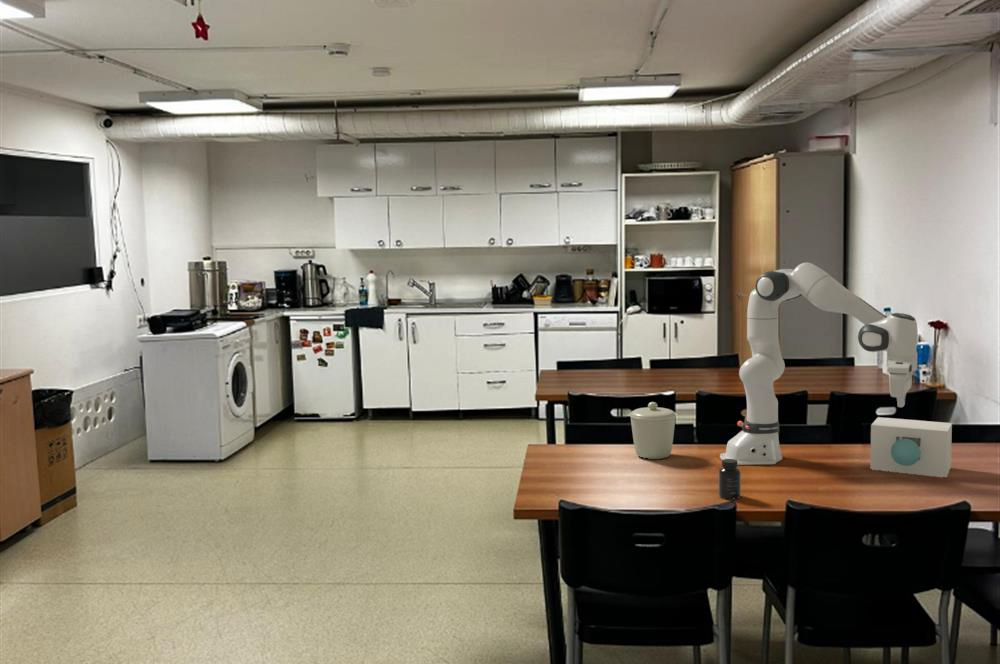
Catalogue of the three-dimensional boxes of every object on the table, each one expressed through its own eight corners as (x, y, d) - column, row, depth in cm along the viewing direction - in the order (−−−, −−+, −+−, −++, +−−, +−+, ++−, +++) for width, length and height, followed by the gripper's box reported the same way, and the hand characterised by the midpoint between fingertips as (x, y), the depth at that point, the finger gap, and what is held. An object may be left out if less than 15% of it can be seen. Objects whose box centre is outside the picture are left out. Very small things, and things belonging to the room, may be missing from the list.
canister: (674, 463, 325) (673, 407, 322) (625, 461, 331) (624, 406, 328) (680, 451, 342) (679, 398, 339) (634, 449, 348) (633, 396, 345)
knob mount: (946, 477, 296) (947, 431, 294) (870, 469, 309) (871, 424, 307) (950, 467, 308) (951, 423, 306) (877, 460, 321) (877, 417, 319)
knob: (919, 467, 294) (920, 440, 293) (890, 464, 299) (890, 438, 298) (924, 457, 306) (925, 432, 305) (896, 454, 310) (897, 429, 309)
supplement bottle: (715, 494, 286) (715, 458, 285) (736, 493, 287) (736, 457, 285) (722, 500, 279) (722, 463, 278) (743, 499, 280) (743, 462, 279)
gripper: (896, 359, 292) (895, 399, 294) (886, 368, 275) (885, 411, 277) (917, 360, 289) (916, 401, 291) (908, 369, 272) (907, 413, 274)
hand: (900, 406), depth 284 cm, fingers closed
